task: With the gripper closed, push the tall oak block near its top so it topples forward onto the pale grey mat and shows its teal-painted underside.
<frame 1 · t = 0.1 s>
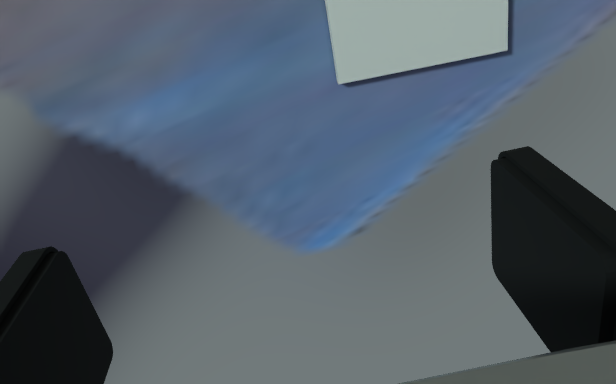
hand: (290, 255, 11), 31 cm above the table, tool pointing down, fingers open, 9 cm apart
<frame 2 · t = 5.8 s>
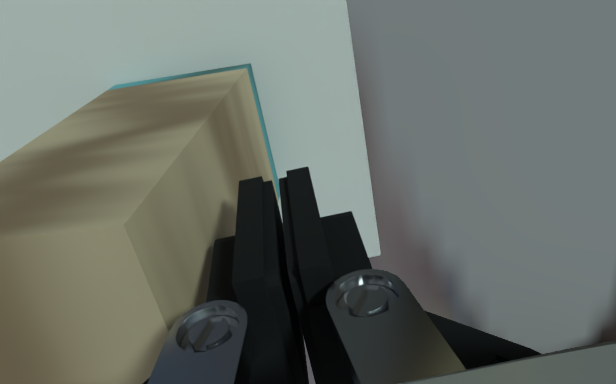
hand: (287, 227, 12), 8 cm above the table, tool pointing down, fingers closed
grey mat: (80, 154, 19), on the table
oak block: (201, 141, 18), point 1 cm above the table, tilted 11°, touching grey mat, gripper
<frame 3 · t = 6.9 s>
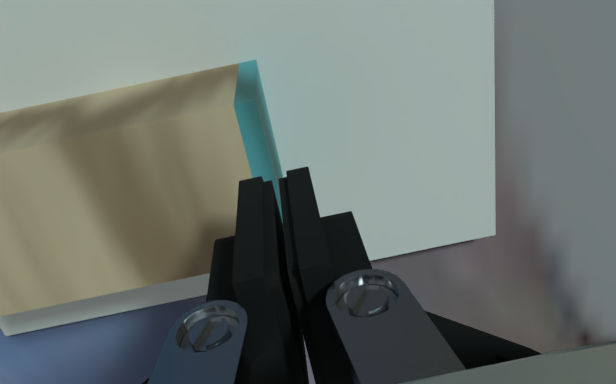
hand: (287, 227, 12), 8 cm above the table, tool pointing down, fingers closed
grey mat: (208, 132, 19), on the table
oak block: (273, 151, 16), point 3 cm above the table, tilted 90°, touching grey mat
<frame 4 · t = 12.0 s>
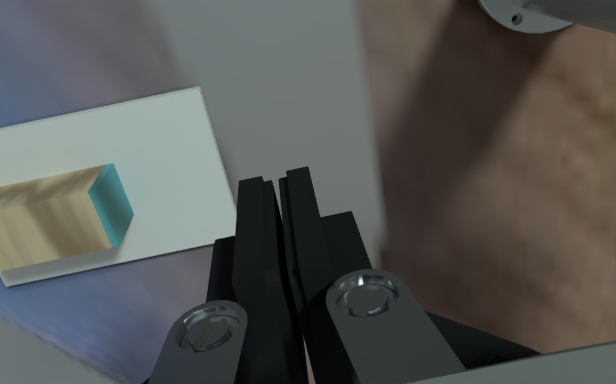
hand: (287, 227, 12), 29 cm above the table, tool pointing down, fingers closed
grey mat: (97, 191, 42), on the table
oak block: (116, 203, 39), point 3 cm above the table, tilted 90°, touching grey mat
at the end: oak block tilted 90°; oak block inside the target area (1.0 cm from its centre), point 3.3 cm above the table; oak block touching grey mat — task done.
